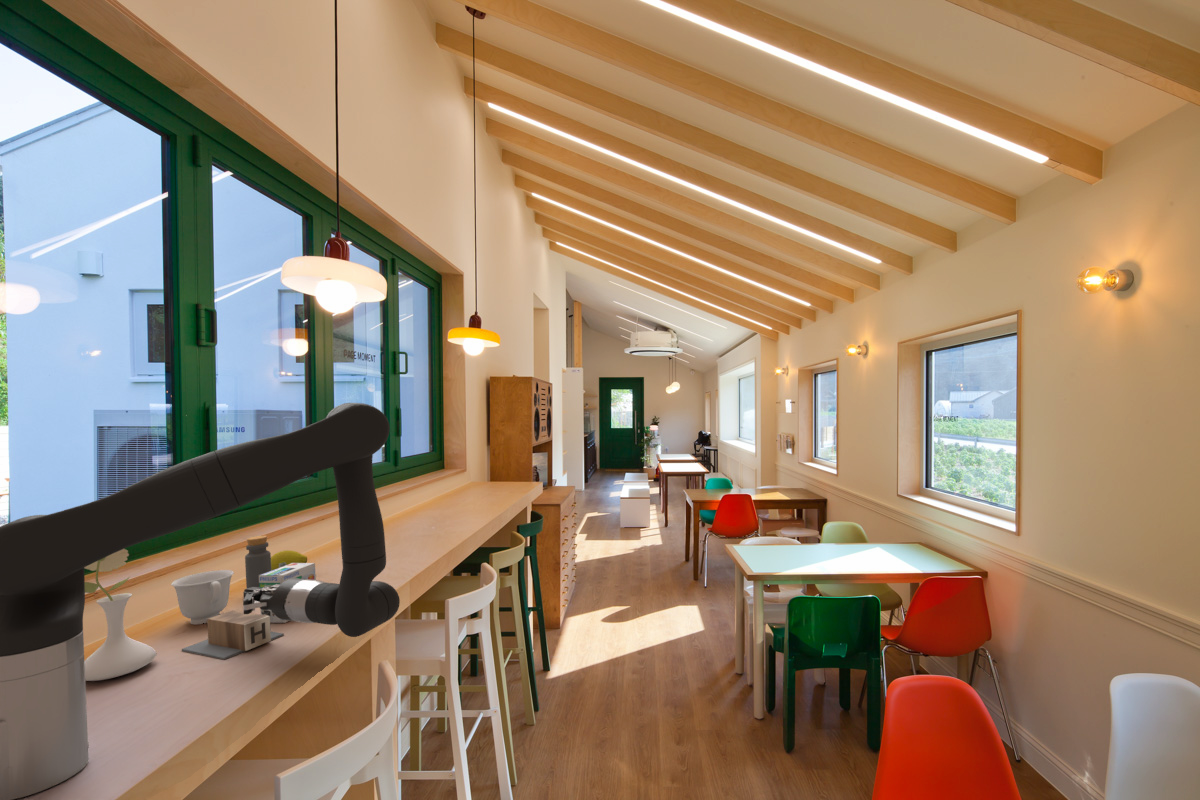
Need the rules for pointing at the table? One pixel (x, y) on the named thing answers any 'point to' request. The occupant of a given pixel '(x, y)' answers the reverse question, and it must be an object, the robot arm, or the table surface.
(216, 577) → the teacup
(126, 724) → the table surface
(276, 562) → the lemon
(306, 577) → the light bulb box
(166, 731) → the table surface
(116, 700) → the table surface
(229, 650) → the slate mat
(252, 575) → the bottle
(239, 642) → the walnut block
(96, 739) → the table surface
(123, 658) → the flower in vase
